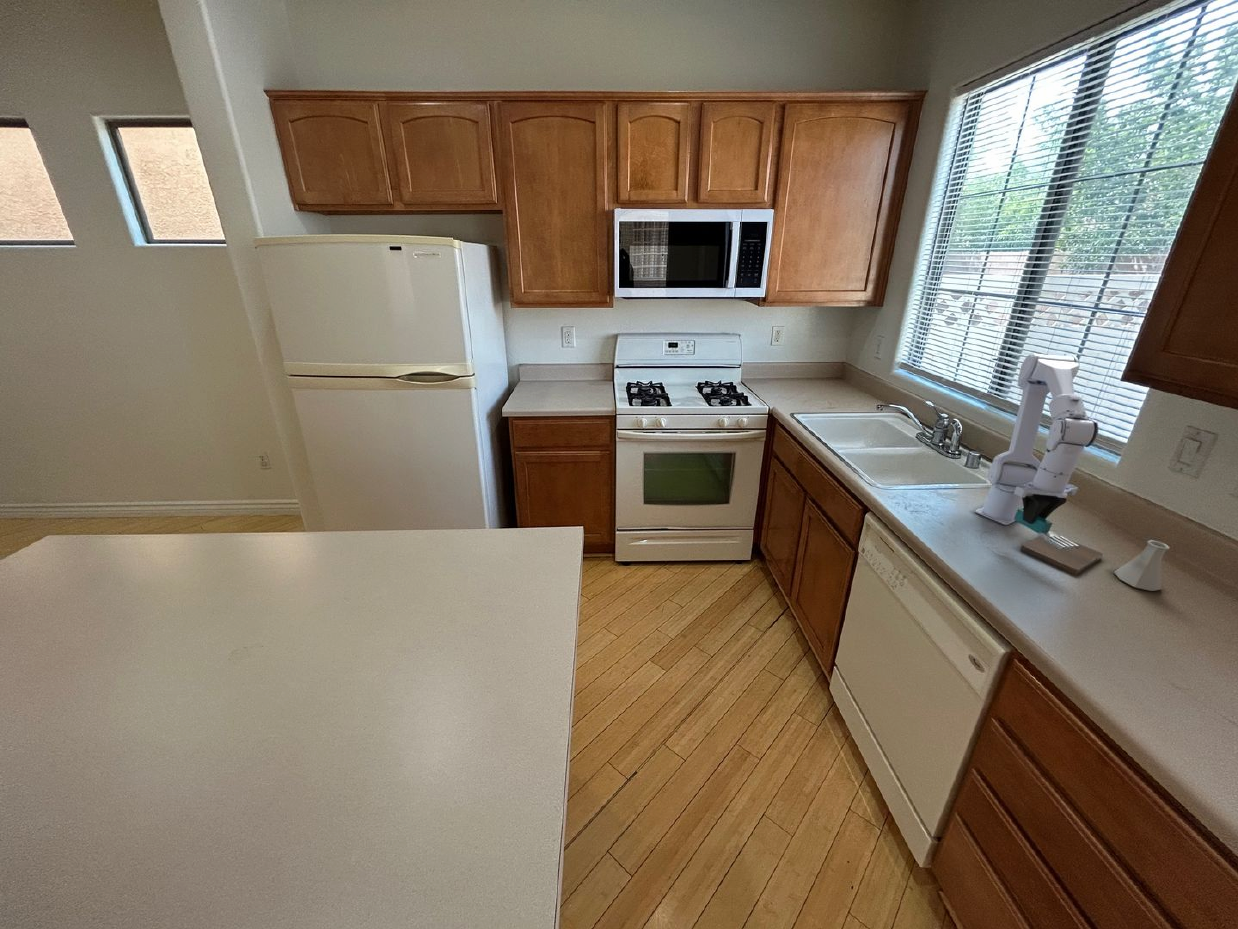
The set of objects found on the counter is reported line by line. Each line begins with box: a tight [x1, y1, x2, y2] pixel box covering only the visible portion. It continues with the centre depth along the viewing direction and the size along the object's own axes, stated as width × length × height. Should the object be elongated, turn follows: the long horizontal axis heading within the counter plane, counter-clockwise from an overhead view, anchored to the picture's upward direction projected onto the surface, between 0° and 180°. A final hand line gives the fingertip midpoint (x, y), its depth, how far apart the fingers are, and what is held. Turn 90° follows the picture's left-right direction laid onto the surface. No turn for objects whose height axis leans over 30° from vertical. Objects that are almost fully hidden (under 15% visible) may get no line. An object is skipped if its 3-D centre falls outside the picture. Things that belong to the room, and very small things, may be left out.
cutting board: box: [1019, 535, 1104, 576], centre depth 115 cm, size 14×11×2 cm
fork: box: [1014, 507, 1079, 550], centre depth 110 cm, size 13×4×3 cm, turn 9°
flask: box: [1113, 539, 1171, 592], centre depth 104 cm, size 7×7×10 cm
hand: (1031, 521), depth 113 cm, fingers closed on fork, 2 cm apart
